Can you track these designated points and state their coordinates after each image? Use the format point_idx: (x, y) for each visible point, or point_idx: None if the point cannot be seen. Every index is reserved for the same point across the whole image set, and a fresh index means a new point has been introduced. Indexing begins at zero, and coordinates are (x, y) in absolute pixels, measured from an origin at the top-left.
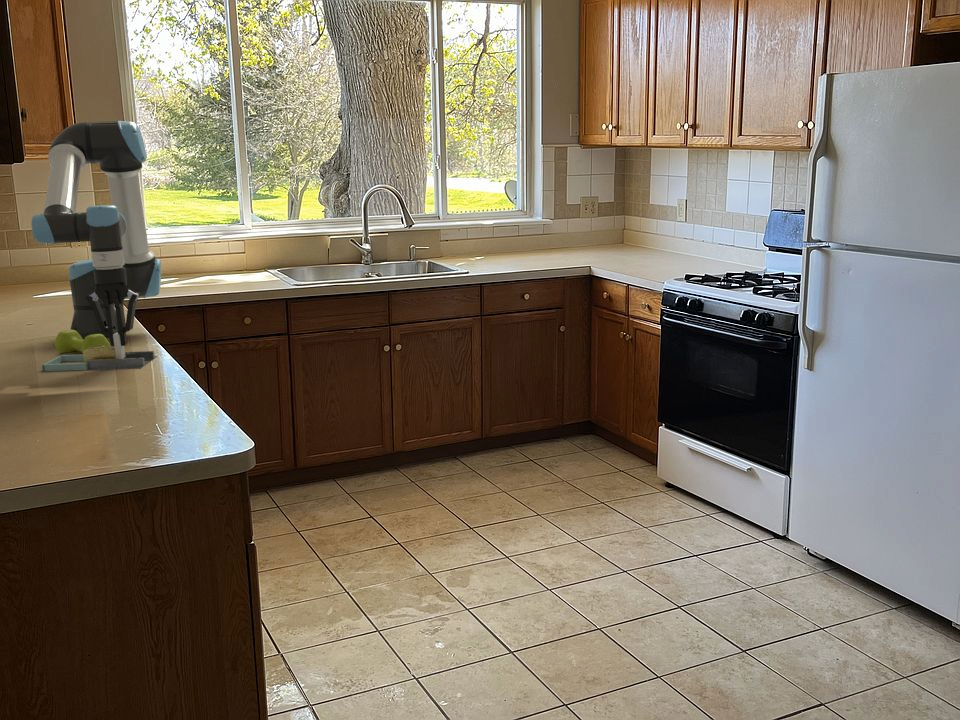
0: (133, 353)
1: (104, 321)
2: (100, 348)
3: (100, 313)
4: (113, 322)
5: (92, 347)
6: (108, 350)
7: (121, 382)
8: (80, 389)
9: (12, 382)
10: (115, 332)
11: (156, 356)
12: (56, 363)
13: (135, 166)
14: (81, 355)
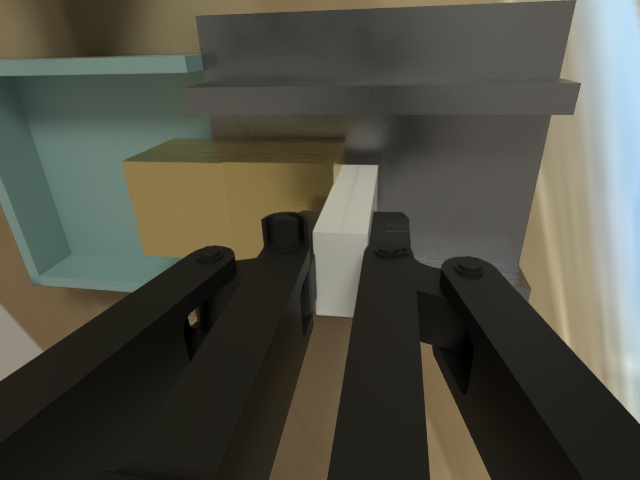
0: (418, 112)
1: (174, 320)
2: (220, 205)
3: (110, 452)
4: (291, 345)
5: (146, 163)
6: None
7: (439, 405)
8: (318, 448)
9: (20, 314)
10: (313, 264)
11: (565, 11)
12: (16, 155)
13: None
14: (69, 73)
